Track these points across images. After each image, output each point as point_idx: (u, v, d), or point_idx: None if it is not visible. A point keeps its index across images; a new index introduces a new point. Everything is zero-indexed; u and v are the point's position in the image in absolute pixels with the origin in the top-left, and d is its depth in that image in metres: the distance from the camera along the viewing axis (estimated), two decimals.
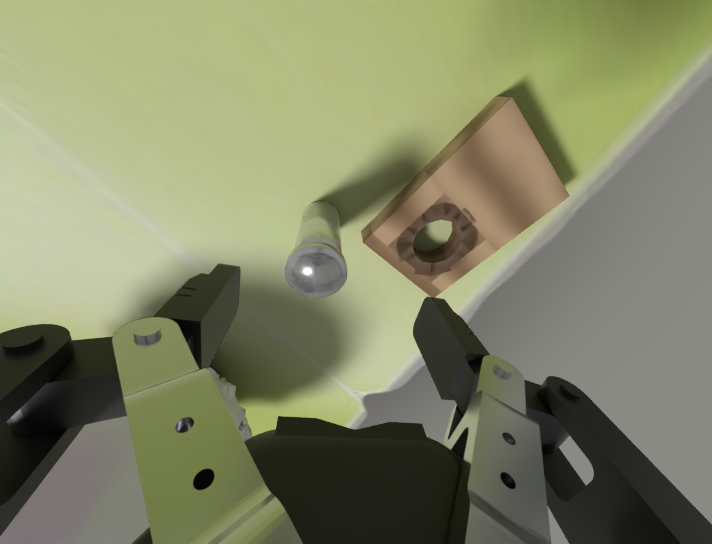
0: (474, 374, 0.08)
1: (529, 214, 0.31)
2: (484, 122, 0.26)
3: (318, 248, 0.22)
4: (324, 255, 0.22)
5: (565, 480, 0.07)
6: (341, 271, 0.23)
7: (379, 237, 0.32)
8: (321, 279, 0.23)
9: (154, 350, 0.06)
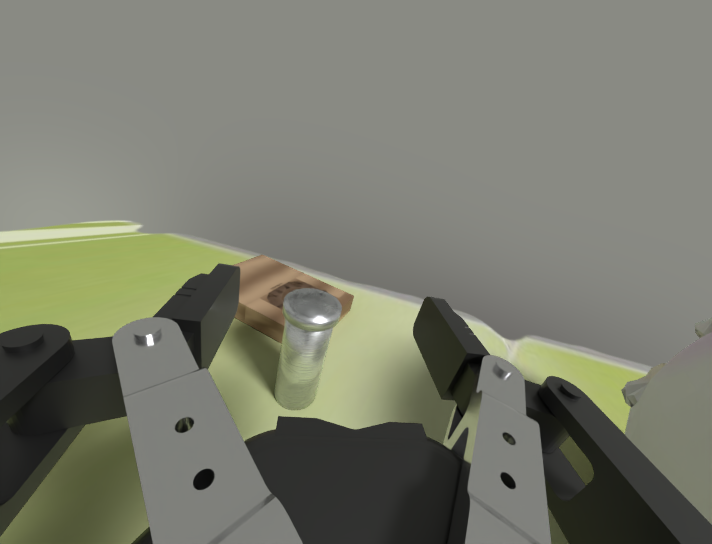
0: (474, 374, 0.08)
1: (275, 265, 0.48)
2: None
3: (285, 301, 0.24)
4: (291, 298, 0.24)
5: (565, 480, 0.07)
6: (307, 290, 0.26)
7: None
8: (318, 301, 0.25)
9: (155, 350, 0.06)
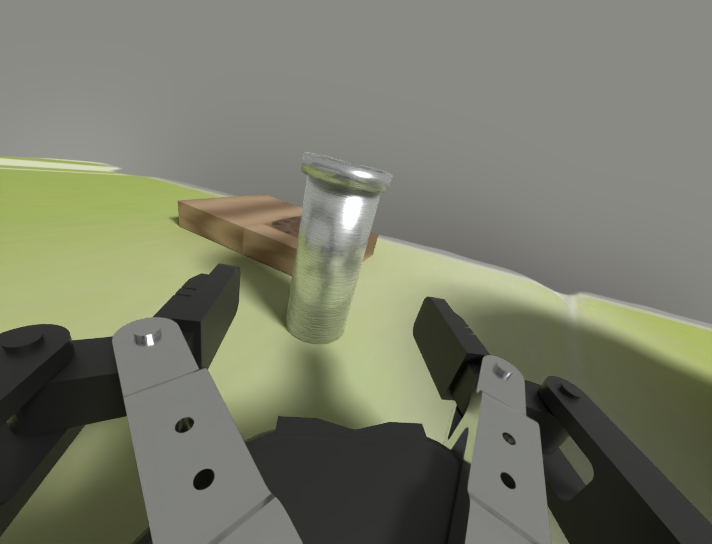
0: (474, 374, 0.08)
1: (279, 202, 0.39)
2: (195, 210, 0.29)
3: (305, 153, 0.15)
4: (315, 154, 0.16)
5: (565, 480, 0.07)
6: (336, 158, 0.17)
7: None
8: (356, 164, 0.16)
9: (155, 350, 0.06)
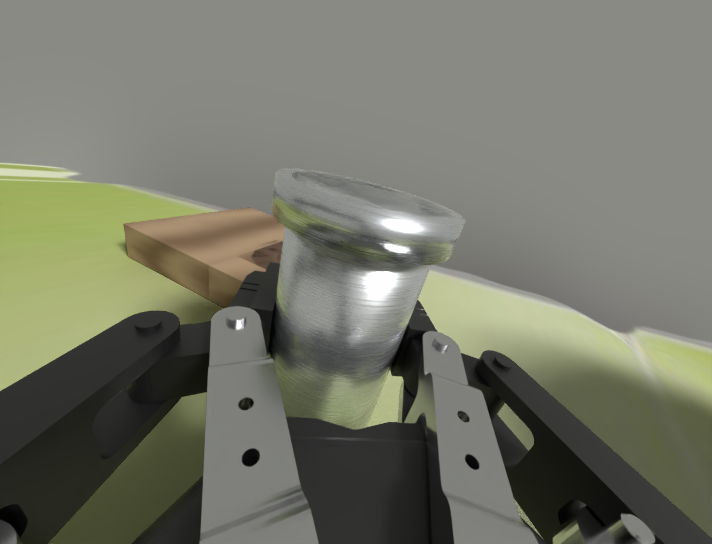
0: (416, 348, 0.09)
1: (268, 219, 0.31)
2: (146, 238, 0.21)
3: (280, 173, 0.07)
4: (303, 174, 0.08)
5: (506, 444, 0.08)
6: (345, 177, 0.09)
7: None
8: (384, 193, 0.08)
9: (238, 334, 0.07)
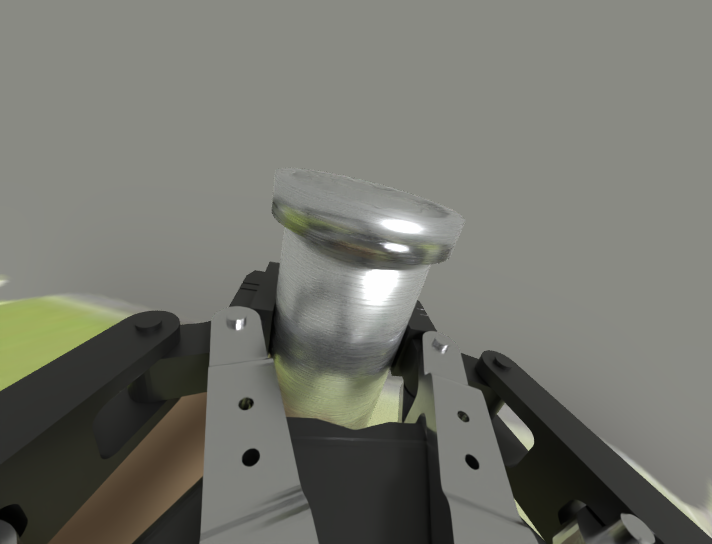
0: (416, 348, 0.09)
1: None
2: None
3: (280, 173, 0.07)
4: (302, 173, 0.08)
5: (506, 444, 0.08)
6: (344, 177, 0.09)
7: None
8: (384, 192, 0.08)
9: (238, 334, 0.07)
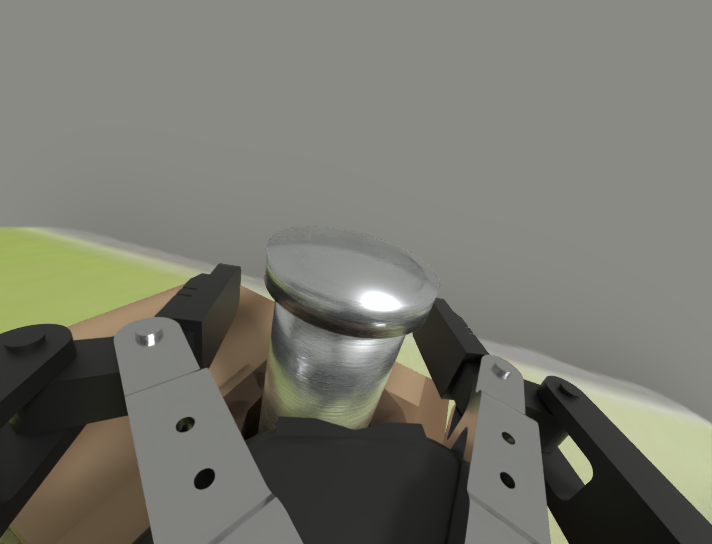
0: (473, 373, 0.08)
1: (240, 300, 0.20)
2: None
3: (272, 244, 0.08)
4: (293, 240, 0.08)
5: (564, 479, 0.07)
6: (334, 231, 0.10)
7: None
8: (369, 253, 0.09)
9: (156, 350, 0.06)
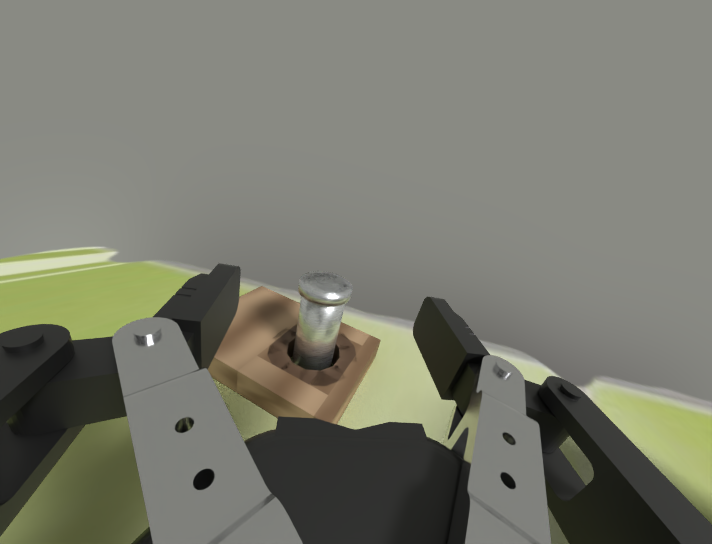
0: (474, 374, 0.08)
1: (277, 300, 0.38)
2: None
3: (300, 280, 0.26)
4: (306, 278, 0.27)
5: (565, 480, 0.07)
6: (320, 273, 0.28)
7: (317, 406, 0.24)
8: (331, 281, 0.27)
9: (154, 350, 0.06)
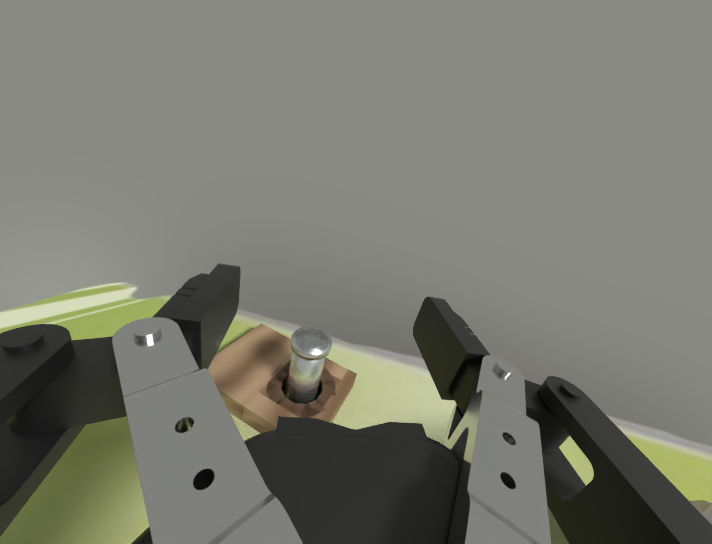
0: (474, 374, 0.08)
1: (274, 337, 0.46)
2: None
3: (292, 338, 0.34)
4: (297, 335, 0.35)
5: (565, 480, 0.07)
6: (308, 328, 0.37)
7: None
8: (316, 337, 0.36)
9: (155, 350, 0.06)
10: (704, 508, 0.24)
